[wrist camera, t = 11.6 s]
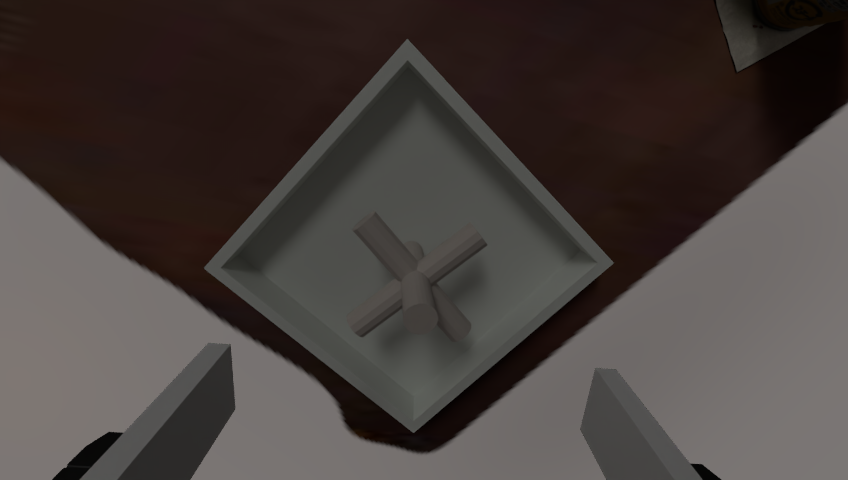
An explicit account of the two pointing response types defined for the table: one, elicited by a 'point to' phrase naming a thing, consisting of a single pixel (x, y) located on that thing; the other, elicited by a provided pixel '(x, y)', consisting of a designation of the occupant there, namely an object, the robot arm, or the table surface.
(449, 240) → the pipe connector
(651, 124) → the table surface
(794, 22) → the condiment
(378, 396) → the tray
